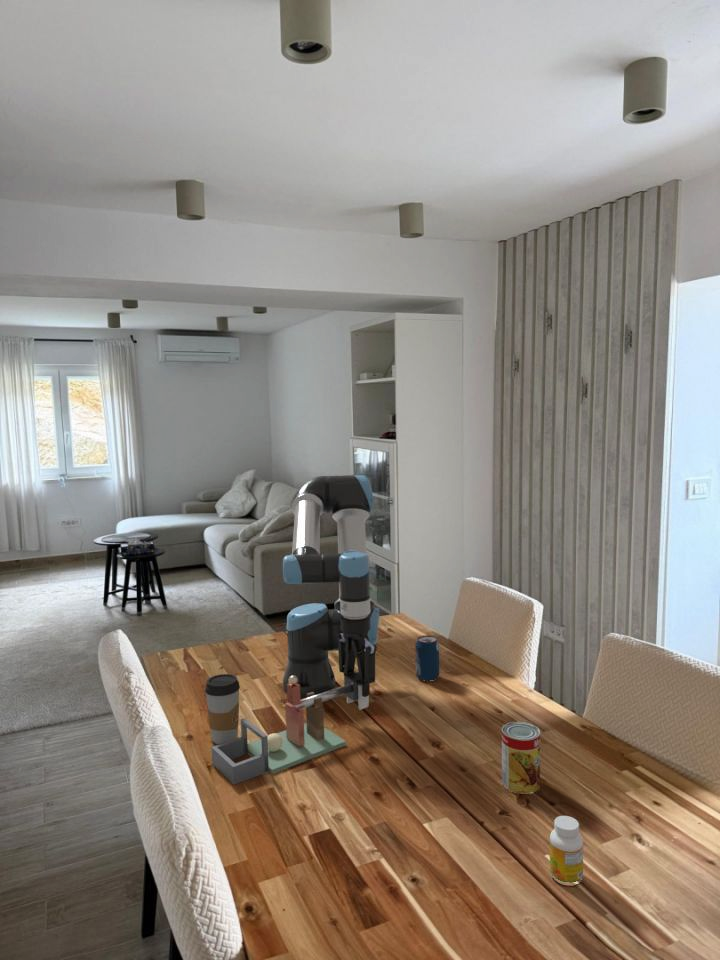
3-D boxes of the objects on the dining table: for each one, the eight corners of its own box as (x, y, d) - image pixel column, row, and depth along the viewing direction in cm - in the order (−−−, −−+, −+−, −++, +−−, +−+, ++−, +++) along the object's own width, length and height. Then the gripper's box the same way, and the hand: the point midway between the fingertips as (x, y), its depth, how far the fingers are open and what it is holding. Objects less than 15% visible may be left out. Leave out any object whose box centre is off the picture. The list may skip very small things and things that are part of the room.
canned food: (546, 792, 138) (546, 737, 137) (510, 797, 137) (510, 741, 136) (530, 772, 146) (530, 719, 145) (496, 776, 145) (496, 723, 144)
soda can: (443, 676, 199) (442, 637, 198) (433, 684, 194) (432, 644, 192) (422, 671, 203) (422, 633, 202) (411, 679, 197) (411, 640, 196)
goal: (245, 751, 158) (244, 718, 157) (268, 771, 149) (267, 735, 148) (212, 763, 153) (210, 729, 152) (234, 784, 144) (232, 748, 143)
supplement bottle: (544, 866, 116) (545, 814, 115) (575, 864, 117) (575, 811, 116) (556, 888, 111) (557, 833, 110) (588, 886, 111) (588, 831, 110)
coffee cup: (234, 748, 159) (231, 688, 158) (201, 745, 161) (198, 685, 160) (247, 731, 168) (244, 674, 166) (215, 729, 169) (213, 672, 168)
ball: (277, 744, 159) (276, 728, 158) (285, 751, 156) (285, 734, 155) (262, 750, 156) (261, 733, 156) (270, 757, 153) (270, 740, 153)
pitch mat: (313, 724, 171) (313, 720, 171) (345, 745, 160) (345, 741, 160) (242, 749, 159) (242, 745, 159) (272, 774, 148) (272, 769, 148)
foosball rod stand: (358, 711, 174) (357, 651, 173) (372, 720, 170) (371, 657, 168) (285, 738, 161) (282, 673, 159) (298, 748, 156) (295, 680, 155)
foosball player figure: (313, 734, 165) (311, 691, 164) (324, 742, 162) (323, 697, 160) (307, 736, 164) (305, 693, 163) (318, 744, 160) (316, 700, 159)
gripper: (323, 610, 172) (325, 697, 174) (365, 626, 159) (367, 720, 161) (346, 604, 177) (348, 689, 179) (389, 619, 163) (391, 711, 166)
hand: (357, 704), depth 170 cm, fingers closed on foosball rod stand, 4 cm apart
